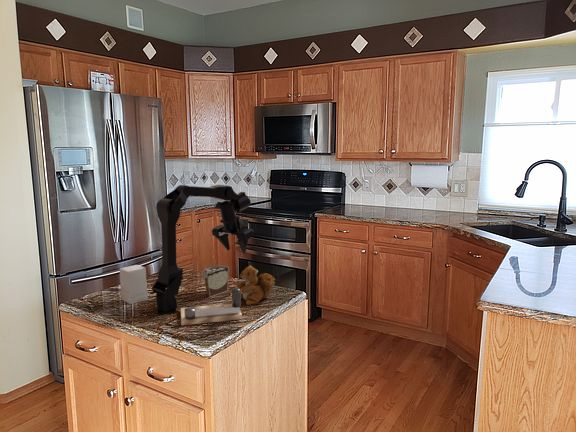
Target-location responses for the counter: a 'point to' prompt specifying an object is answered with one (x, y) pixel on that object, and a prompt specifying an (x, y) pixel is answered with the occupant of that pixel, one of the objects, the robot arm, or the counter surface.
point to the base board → (209, 318)
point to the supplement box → (133, 284)
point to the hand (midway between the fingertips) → (236, 251)
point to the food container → (216, 280)
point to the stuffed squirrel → (255, 285)
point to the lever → (235, 307)
